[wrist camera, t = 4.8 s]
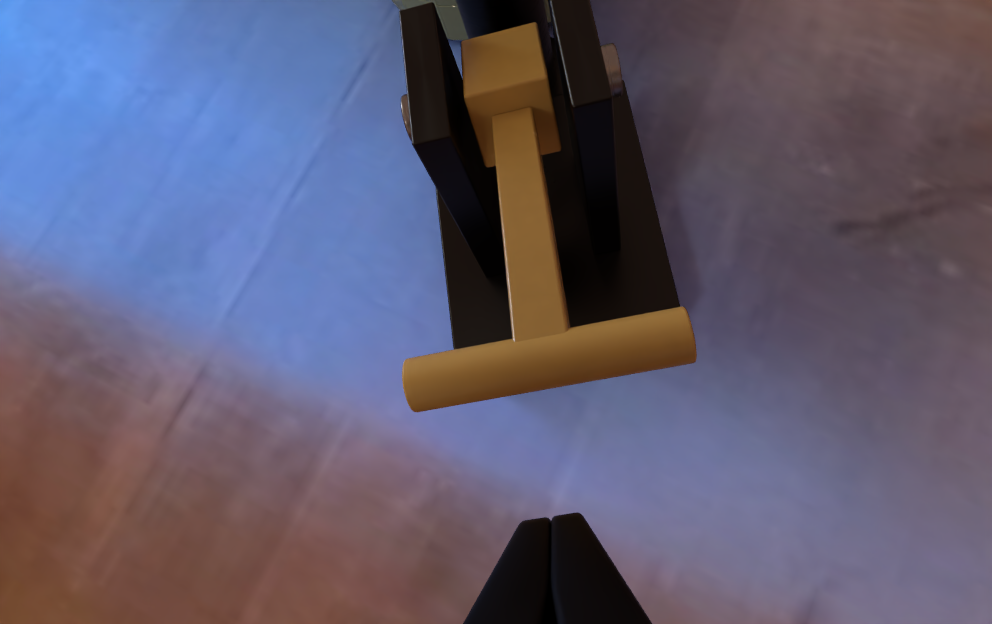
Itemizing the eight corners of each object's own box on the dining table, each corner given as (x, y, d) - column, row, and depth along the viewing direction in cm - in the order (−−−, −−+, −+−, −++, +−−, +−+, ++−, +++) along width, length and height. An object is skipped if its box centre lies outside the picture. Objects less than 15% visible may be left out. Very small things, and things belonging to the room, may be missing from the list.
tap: (680, 326, 24) (706, 184, 14) (462, 366, 25) (360, 258, 16) (624, 98, 27) (617, -129, 18) (436, 142, 28) (341, -51, 19)
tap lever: (697, 391, 13) (697, 319, 11) (428, 437, 14) (388, 376, 12) (605, 81, 20) (595, 5, 18) (429, 123, 21) (403, 54, 19)
